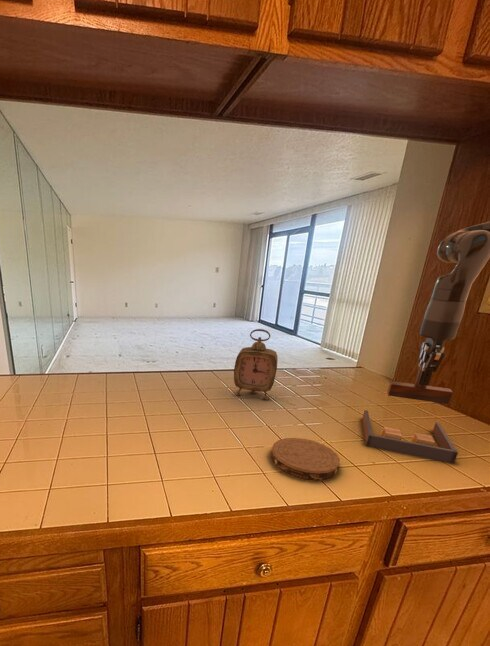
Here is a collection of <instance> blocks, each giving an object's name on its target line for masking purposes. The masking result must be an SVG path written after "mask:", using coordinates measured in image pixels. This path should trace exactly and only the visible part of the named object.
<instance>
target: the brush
mask: <svg viewBox="0 0 490 646" xmlns="http://www.w3.org/2000/svg"><path fill="white" fill-rule="evenodd" d="M430 367H432V365H430ZM422 368H423V364H421V367H420V370H419V369H418V371H419V373H418V372H417V374H418V377H417V376H416V377H417V380H416V379H415V383H411V382H402V381H401V382H400V381H393V380H390V381H389V384H388V388H387V391H386V393H387V396H388V397H395V398H402V399H410V400H417V401H424V402H429V403H438V404H444V405H450V402H451V399H452V397H453V394H454V392H453V391H452V389H451V388H447V387H440V386H432V385H420V384H419V383H418V381H419V378H420V375H421V372H422Z"/></svg>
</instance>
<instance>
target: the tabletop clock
mask: <svg viewBox="0 0 490 646" xmlns="http://www.w3.org/2000/svg"><path fill="white" fill-rule="evenodd" d="M255 332H264V333H266V334H267V335H268V337H267V338H264V339H263V338H262V337H261V336H258V337H257V338H254V337H253V335H252V334H253V333H255ZM249 337H250V339H251V340H253V341H255V342H254V343H252V345H251V346H247V347H246V346H245V347H242V348H241V349H240V351H239V352H238V354H237V356H236V358H235V362H234V366H233V367H234V368H233V382H234V385H235V387H237V388H239V389H238V390H236V391H235V392H234V394H235V396H237V397H238V396H240V392H241V391H242V390H247V391H250V393H251V394H253V395H254V394H256V393H257V392H263V393H264V395H265V396H264V400H266V401H268V400H269V399H270V396H269V395H268V394H267V392H270V391H271V390H272V388H273V386H274V383H275V378H276V375H277V371H278V362H279V361H278V354H277V351H275V350H274V349H271V348H267V346H266V343H264V342H266V341H269V340H270V339H271V333H270V332H269V330H267V329H262V328H256V329H253V330H252V331H251V332H250V334H249Z"/></svg>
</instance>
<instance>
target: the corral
mask: <svg viewBox="0 0 490 646" xmlns="http://www.w3.org/2000/svg"><path fill="white" fill-rule="evenodd" d="M361 421H362V428H363V435H364V441H365V446H366V447H369V448H374V449H375V448H376V449H379V450H385V451H390V452H394V453H399V454H400V453H401V454H403V455H409V456H414V457H419V458H425V459H428V460H434V461H438V462H444V463H449V464H455V461H456V459H457V456H458V454H459V451H458V450H457V449H456V446H455V445H454V444H453V442H452V440H451V439H450V437H449V435H448V434H447V432H446V431H445V429H444V428H443V425H442V424H441V423H440V422H437V421H435V423H434V425H433V429H432V432H431V433H432V434H433V437H434V438H435V440H436V441H437V443H438V445H439V446H435V445H434V446H429V445H424V444H419V443H414V442H412V441H407V440H402V439H401V440H398V439H393V438H388V437H382V435H377V434H373V430H372V424H371V418H370V414H369V410H364V411H363V415H362V418H361Z"/></svg>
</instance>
